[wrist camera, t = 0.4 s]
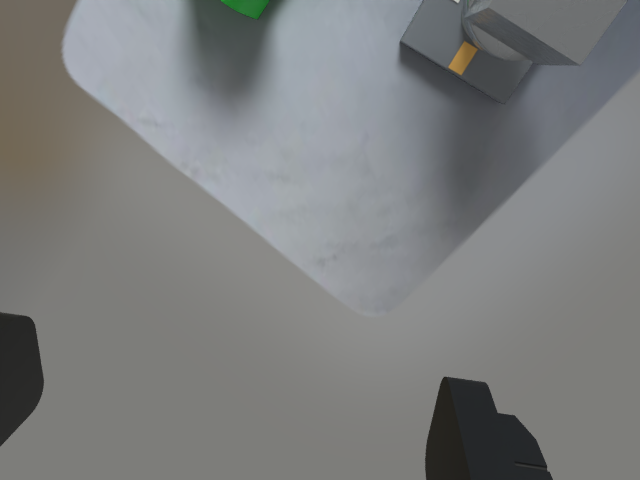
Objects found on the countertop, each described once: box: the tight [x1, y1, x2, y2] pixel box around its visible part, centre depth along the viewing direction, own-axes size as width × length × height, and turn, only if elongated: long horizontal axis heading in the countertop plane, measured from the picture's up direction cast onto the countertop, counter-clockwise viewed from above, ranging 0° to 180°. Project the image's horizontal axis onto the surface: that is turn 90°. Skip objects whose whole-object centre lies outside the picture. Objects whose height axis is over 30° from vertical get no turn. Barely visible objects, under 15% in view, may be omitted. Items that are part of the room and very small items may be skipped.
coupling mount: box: [400, 0, 533, 104], centre depth 28 cm, size 8×8×7 cm
